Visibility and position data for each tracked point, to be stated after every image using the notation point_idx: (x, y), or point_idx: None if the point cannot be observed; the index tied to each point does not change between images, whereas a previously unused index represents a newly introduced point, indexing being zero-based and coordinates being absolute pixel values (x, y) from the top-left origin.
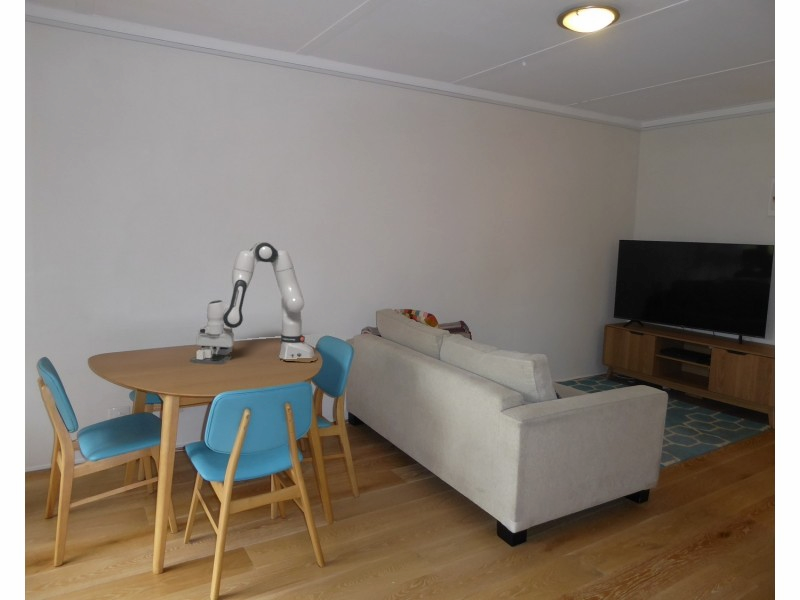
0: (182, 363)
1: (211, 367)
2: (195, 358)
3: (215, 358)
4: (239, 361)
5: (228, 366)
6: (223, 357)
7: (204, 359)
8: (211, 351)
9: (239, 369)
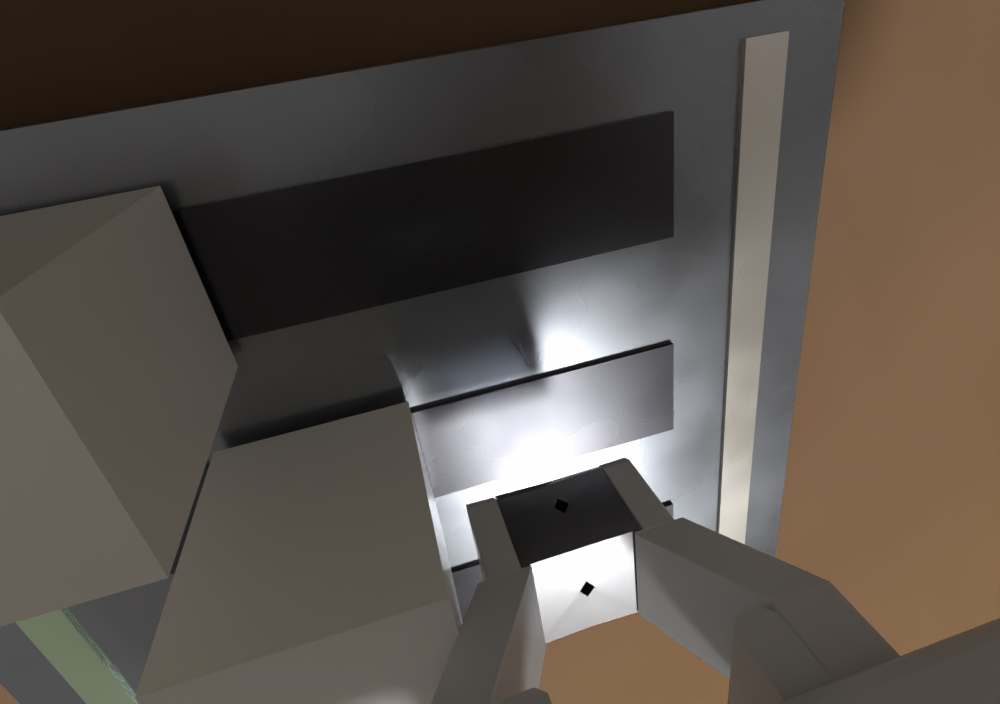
0: None
1: (649, 693)
2: (114, 689)
3: (549, 462)
4: (990, 183)
5: (851, 549)
6: (677, 262)
7: None
8: (461, 624)
9: (997, 573)
